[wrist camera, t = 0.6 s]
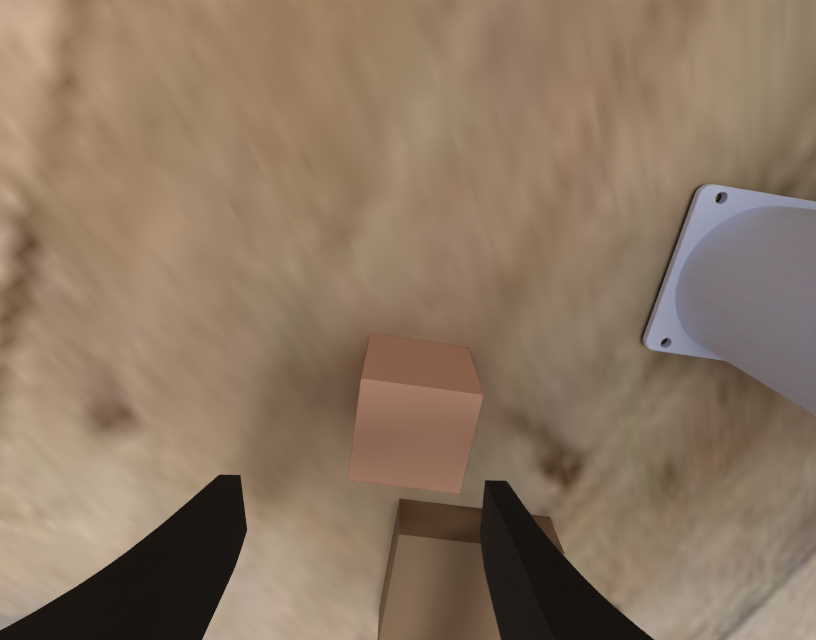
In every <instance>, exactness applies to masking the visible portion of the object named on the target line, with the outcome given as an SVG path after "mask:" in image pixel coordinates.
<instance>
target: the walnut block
mask: <svg viewBox="0 0 816 640" xmlns="http://www.w3.org/2000/svg"><path fill="white" fill-rule="evenodd" d="M531 516H532V517H533V519H534V520H535V521H536V522H537V524H538V525H539V526H540V528H541V529H542V530H543V531H544V533H545V534H546V535H547V536H548V538H549V539H550V540H551V541H552V543H553V544H554V545H555V546H556V547H557V548H558V550H559V551H560V552H561V553H562V554H563V555H564V552H563V549H562V547H561V544H560V542H559V539H558V537H557V534H556V532H555V529H554V527H553V525H552V522H551V520H550V517H544V516H536V515H531ZM481 517H482V509H479V508H471V507H463V506H454V505H446V504H438V503H430V502H422V501H414V500H406V499H400V500H399V506H398V511H397V517H396V522H395V527H394V533H393V538H392V544H391V549H390V554H389V560H388V565H387V571H386V576H385V581H384V587H383V592H382V598H381V603H380V608H379V624H378V640H501V638H500V634H499V629H498V625H497V621H496V617H495V613H494V609H493V605H492V601H491V596H490V592H489V588H488V584H487V580H486V575H485V571H484V564H483V557H482V549H481V541H480V527H481Z"/></svg>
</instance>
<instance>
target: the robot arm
mask: <svg viewBox="0 0 816 640" xmlns="http://www.w3.org/2000/svg"><path fill="white" fill-rule="evenodd" d="M718 193H721V195H722V196H721V199H720V201H719V202H717V203H716V201H715V199H716V196H717V194H718ZM665 338H667V341H666V343H664V344H663V345H661V341H662V340H663V339H665ZM643 344H644V345H645V346H646V347H647V348H648V349H650V350H654V351H661V352H668V353H674V354H681V355H688V356H695V357H702V358H708V359H715V360H722V361H727V362H728V363H730V364H732V365H733V366H735V367H736V368H738V369H740V370H741V371H743V372H745V373H746V374H748V375H749V376H751V377H753V378H754V379H756V380H758V381H759V382H761V383H762V384H764V385H766V386H767V387H769V388H771V389H772V390H774V391H775V392H777V393H779V394H780V395H782V396H784V397H785V398H787V399H788V400H790V401H792V402H793V403H795V404H797V405H798V406H800V407H801V408H803V409H805V410H806V411H808V412H810V413H811V414H813V415H814V416H816V202H815V201H810V200H804V199H798V198H792V197H786V196H780V195H774V194H768V193H763V192H757V191H751V190H745V189H739V188H733V187H727V186H721V185H716V184H705V185H702V186H701V187H700V188H698V189H697V191H696V193H695V195H694V198H693V201H692V204H691V206H690V209H689V212H688V215H687V217H686V220H685V223H684V226H683V228H682V231H681V234H680V237H679V240H678V242H677V245H676V248H675V251H674V253H673V256H672V259H671V262H670V264H669V267H668V270H667V273H666V276H665V278H664V281H663V284H662V287H661V289H660V292H659V295H658V298H657V300H656V303H655V306H654V309H653V312H652V314H651V317H650V320H649V323H648V325H647V328H646V331H645V334H644V337H643ZM246 532H247V525H246V517H245V509H244V501H243V493H242V485H241V477H240V475H219V476H217V477H216V478H215V479H214V480H213V481H211V482H210V483H209V484H208V485H207V486H206V487H205V488H203V489H202V490H201V491H200V492H199V493H198V494H197V495H195V496H194V497H193V498H192V499H191V500H190V501H189V502H187V503H186V504H185V505H184V506H183V507H182V508H180V509H179V510H178V511H177V512H176V513H175V514H173V515H172V516H171V517H170V518H169V519H167V520H166V521H165V522H164V523H163V524H162V525H160V526H159V527H158V528H157V529H155V530H154V531H153V532H151V533H150V534H149V535H148V536H146V537H145V538H144V539H143V540H141V541H140V542H139V543H137V544H136V545H135V546H134V547H132V548H131V549H130V550H129V551H127V552H126V553H124V554H123V555H122V556H120V557H119V558H118V559H116V560H115V561H113V562H112V563H111V564H109V565H108V566H106V567H105V568H103V569H102V570H100V571H99V572H98V573H96V574H95V575H93V576H92V577H90V578H89V579H87V580H86V581H84V582H83V583H81V584H79V585H78V586H76V587H75V588H73V589H71V590H70V591H68V592H66V593H65V594H63V595H61V596H60V597H58V598H57V599H55V600H53V601H52V602H50V603H48V604H47V605H45V606H43V607H42V608H40V609H38V610H37V611H35V612H33V613H31V614H30V615H28V616H26V617H24V618H22V619H21V620H19V621H17V622H15V623H13V624H12V625H10V626H8V627H6V628H4V629H2V630H0V640H202V639H203V636H204V634H205V632H206V630H207V628H208V625H209V623H210V621H211V619H212V617H213V615H214V612H215V610H216V608H217V606H218V604H219V602H220V599H221V597H222V595H223V593H224V591H225V588H226V586H227V584H228V582H229V580H230V577H231V575H232V573H233V571H234V568H235V566H236V563H237V560H238V557H239V554H240V551H241V548H242V545H243V542H244V538H245V535H246ZM480 541H481V549H482V557H483V564H484V571H485V575H486V580H487V584H488V588H489V592H490V596H491V601H492V605H493V609H494V613H495V617H496V621H497V625H498V629H499V634H500V638H501V640H654V639H653V638H651V637H650V636H649V635H648V634H646V633H645V632H644V631H643V630H641V629H640V628H639V627H638V626H636V625H635V624H634V623H633V622H632V621H631V620H629V619H628V618H627V617H626V616H625V615H624V614H622V613H621V612H620V611H619V610H618V609H616V608H615V607H614V606H613V605H612V604H611V603H610V602H609V601H607V600H606V599H605V598H604V597H603V596H602V595H601V594H600V593H599V592H598V591H597V590H596V589H595V588H594V587H593V586H592V585H591V584H590V583H589V582H588V581H587V580H586V579H585V578H584V577H583V576H582V575H581V574H580V573H579V572H578V571H577V570H576V569H575V568H574V567H573V565H572V564H571V563H570V562H569V561H568V560H567V559H566V558H565V557H564V555H563V554H562V553H561V552H560V551H559V550H558V548H557V547H556V546H555V545H554V544H553V543H552V541H551V540H550V539H549V538H548V536H547V535H546V534H545V533H544V531H543V530H542V529H541V528H540V526H539V525H538V524H537V522H536V521H535V520H534V519H533V517H532V516H531V515H530V513H529V512H528V510H527V509H526V508H525V506H524V505H523V504H522V502H521V501H520V499H519V498H518V496H517V495H516V494H515V492H514V491H513V489H512V488H511V486H510V485H509V483H508V482H507V481H490V480H485V488H484V498H483V508H482V517H481V527H480Z"/></svg>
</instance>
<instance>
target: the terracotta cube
mask: <svg viewBox="0 0 816 640" xmlns="http://www.w3.org/2000/svg"><path fill="white" fill-rule="evenodd" d="M483 396H484V394H483V391H482V388H481V385H480V382H479V379H478V376H477V373H476V370H475V368H474V365H473V362H472V359H471V356H470V353H469V350H468V347H461V346H454V345H447V344H440V343H433V342H426V341H419V340H412V339H406V338H399V337H392V336H385V335H378V334H370V339H369V343H368V348H367V353H366V358H365V362H364V367H363V372H362V377H361V383H360V391H359V398H358V406H357V413H356V420H355V428H354V435H353V443H352V450H351V458H350V465H349V472H348V480H352V481H360V482H368V483H376V484H384V485H392V486H400V487H408V488H416V489H424V490H432V491H440V492H448V493H456V494H460V492H461V487H462V483H463V479H464V475H465V471H466V467H467V463H468V459H469V454H470V450H471V446H472V442H473V438H474V434H475V430H476V425H477V421H478V417H479V413H480V409H481V405H482V401H483Z"/></svg>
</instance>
